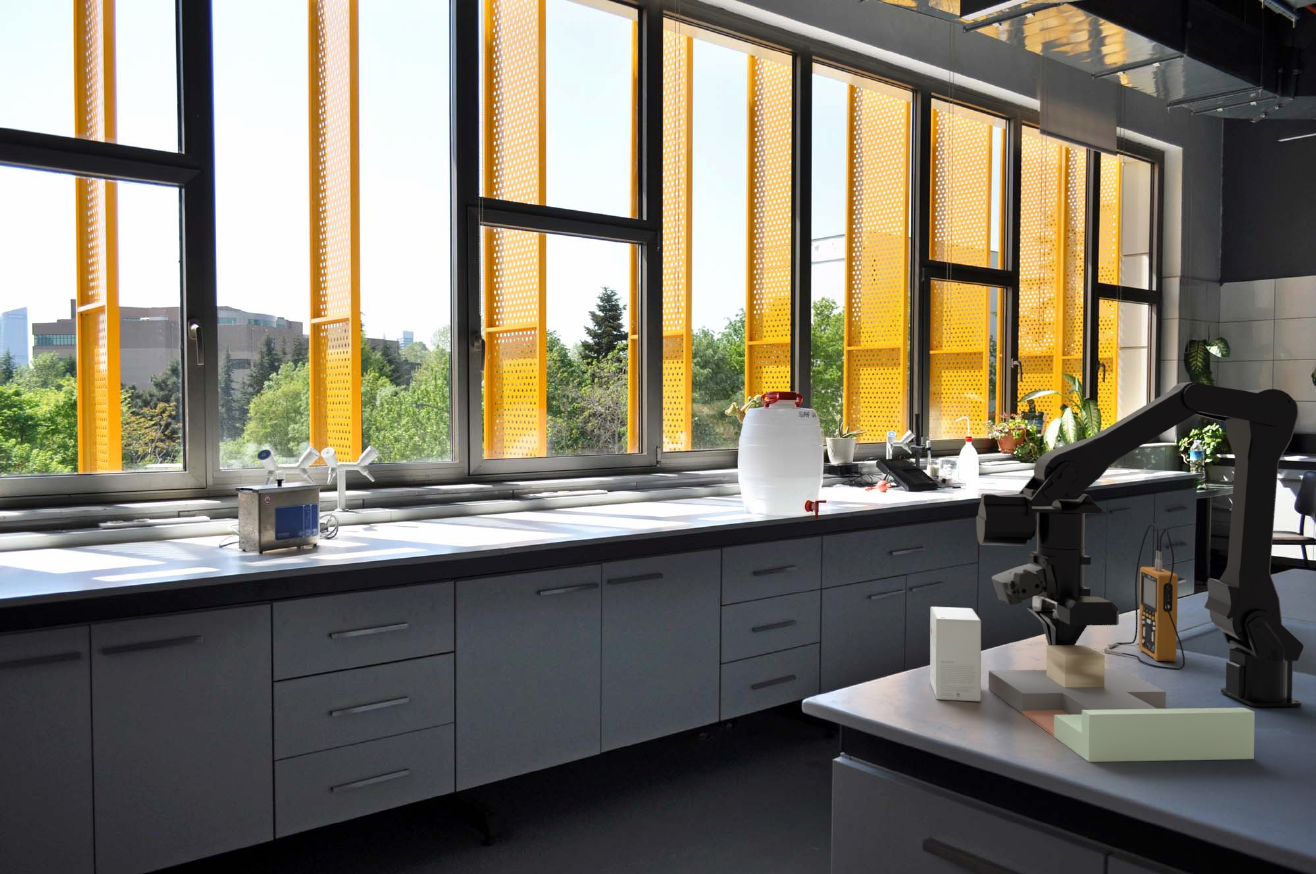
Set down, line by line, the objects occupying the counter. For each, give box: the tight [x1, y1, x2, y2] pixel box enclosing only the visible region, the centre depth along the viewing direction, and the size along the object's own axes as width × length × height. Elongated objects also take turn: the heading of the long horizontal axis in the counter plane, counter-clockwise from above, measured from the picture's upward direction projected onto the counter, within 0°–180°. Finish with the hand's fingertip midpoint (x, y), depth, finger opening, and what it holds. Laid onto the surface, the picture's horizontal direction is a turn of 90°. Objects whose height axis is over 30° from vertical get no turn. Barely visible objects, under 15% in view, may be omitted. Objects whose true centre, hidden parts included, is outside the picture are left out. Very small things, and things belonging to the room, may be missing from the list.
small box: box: [929, 606, 982, 702], centre depth 121 cm, size 8×6×10 cm
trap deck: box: [988, 668, 1256, 763], centre depth 110 cm, size 18×26×5 cm
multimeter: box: [1093, 523, 1186, 671], centre depth 139 cm, size 15×10×20 cm
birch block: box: [1046, 644, 1106, 687], centre depth 117 cm, size 5×5×4 cm
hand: (1058, 664), depth 121 cm, fingers closed
